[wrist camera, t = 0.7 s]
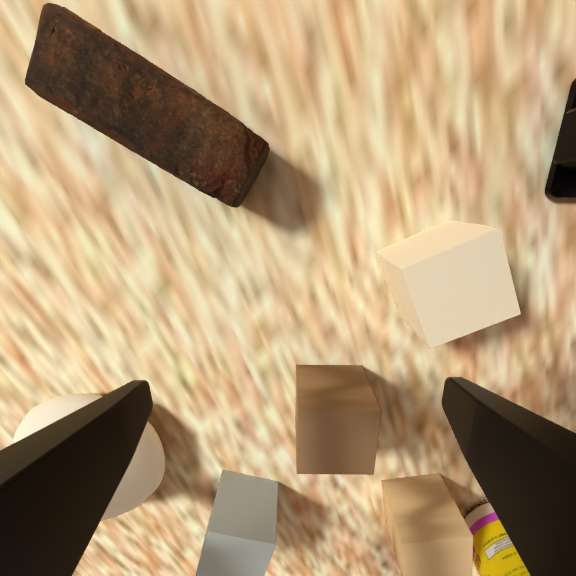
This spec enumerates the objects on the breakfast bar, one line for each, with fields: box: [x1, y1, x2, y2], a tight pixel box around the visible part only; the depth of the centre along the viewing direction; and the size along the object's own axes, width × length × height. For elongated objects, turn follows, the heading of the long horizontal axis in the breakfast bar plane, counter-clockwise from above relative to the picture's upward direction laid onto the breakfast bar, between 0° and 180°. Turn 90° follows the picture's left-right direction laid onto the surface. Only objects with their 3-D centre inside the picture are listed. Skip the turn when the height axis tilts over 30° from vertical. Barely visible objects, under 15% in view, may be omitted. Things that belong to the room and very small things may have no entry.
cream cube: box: [375, 220, 521, 349], centre depth 18 cm, size 5×5×5 cm
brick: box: [25, 3, 270, 207], centre depth 16 cm, size 11×4×5 cm, turn 59°
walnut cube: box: [295, 365, 381, 475], centre depth 21 cm, size 5×5×5 cm
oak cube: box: [381, 473, 473, 576], centre depth 24 cm, size 5×5×5 cm
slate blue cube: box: [196, 470, 278, 576], centre depth 24 cm, size 5×5×5 cm
